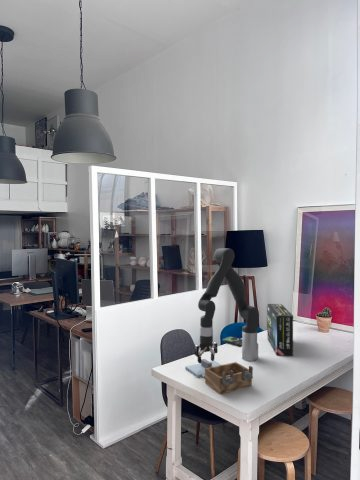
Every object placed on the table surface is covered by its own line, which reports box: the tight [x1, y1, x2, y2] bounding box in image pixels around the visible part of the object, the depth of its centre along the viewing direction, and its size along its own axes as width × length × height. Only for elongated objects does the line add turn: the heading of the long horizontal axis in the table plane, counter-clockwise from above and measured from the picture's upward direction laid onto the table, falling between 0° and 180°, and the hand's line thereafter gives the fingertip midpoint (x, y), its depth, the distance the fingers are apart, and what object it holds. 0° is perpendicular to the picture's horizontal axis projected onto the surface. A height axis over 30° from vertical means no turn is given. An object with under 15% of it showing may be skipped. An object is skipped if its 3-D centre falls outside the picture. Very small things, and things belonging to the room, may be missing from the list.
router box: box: [266, 303, 294, 357], centre depth 249 cm, size 36×11×27 cm, turn 177°
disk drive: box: [221, 336, 242, 348], centre depth 259 cm, size 10×3×15 cm
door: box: [185, 358, 222, 379], centre depth 208 cm, size 20×16×5 cm
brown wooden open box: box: [204, 361, 254, 395], centre depth 189 cm, size 20×16×11 cm
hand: (205, 361), depth 209 cm, fingers open, 8 cm apart
